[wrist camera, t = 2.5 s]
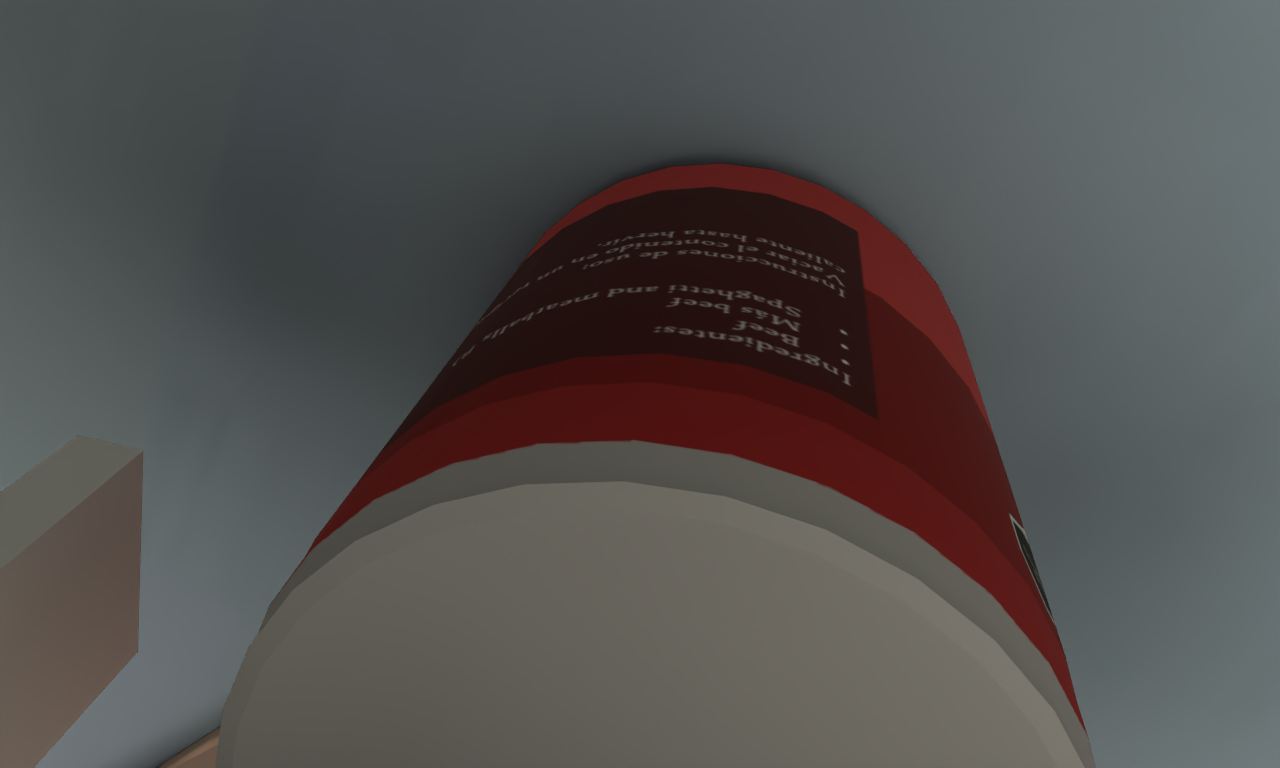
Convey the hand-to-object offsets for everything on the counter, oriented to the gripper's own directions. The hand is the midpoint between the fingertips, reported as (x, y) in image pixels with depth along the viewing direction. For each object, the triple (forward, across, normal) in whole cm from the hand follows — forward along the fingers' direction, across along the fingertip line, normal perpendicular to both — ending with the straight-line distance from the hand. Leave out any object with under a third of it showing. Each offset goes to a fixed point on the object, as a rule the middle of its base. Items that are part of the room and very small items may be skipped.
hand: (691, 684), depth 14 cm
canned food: (+8, 0, +1) cm, 8 cm away
